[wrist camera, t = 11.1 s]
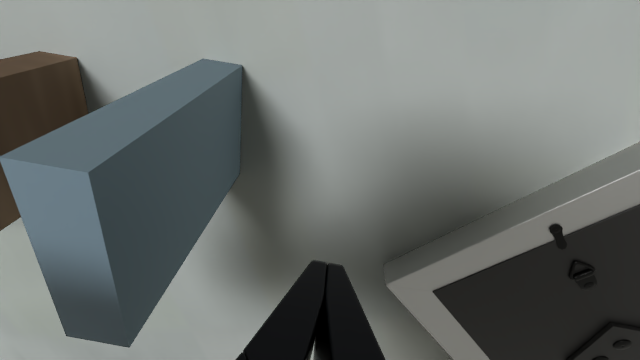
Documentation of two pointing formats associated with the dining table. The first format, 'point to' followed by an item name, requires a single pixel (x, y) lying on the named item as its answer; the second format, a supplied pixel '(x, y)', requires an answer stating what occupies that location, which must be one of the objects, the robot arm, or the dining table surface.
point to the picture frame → (537, 273)
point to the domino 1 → (35, 107)
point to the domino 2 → (128, 195)
